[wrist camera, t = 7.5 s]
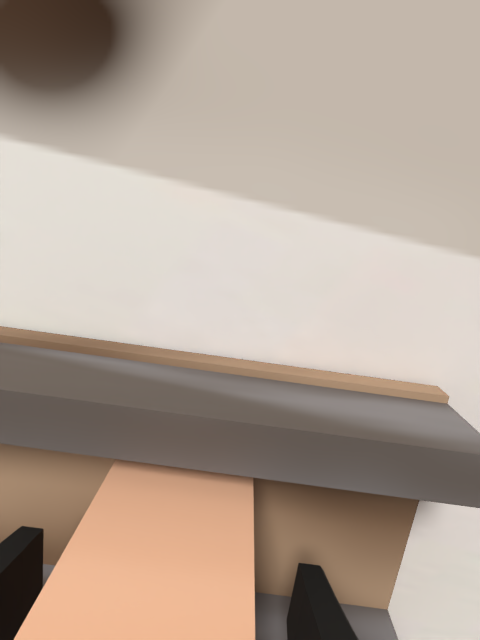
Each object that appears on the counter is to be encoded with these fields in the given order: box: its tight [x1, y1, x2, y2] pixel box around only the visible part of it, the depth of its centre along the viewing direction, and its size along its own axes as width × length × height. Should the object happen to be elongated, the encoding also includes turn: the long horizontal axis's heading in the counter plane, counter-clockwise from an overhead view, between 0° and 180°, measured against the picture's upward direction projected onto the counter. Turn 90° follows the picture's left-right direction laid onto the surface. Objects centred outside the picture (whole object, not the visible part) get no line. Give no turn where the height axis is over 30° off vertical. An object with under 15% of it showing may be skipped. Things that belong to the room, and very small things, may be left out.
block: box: [14, 459, 255, 640], centre depth 10 cm, size 5×4×7 cm
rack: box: [0, 326, 480, 640], centre depth 14 cm, size 19×16×4 cm
